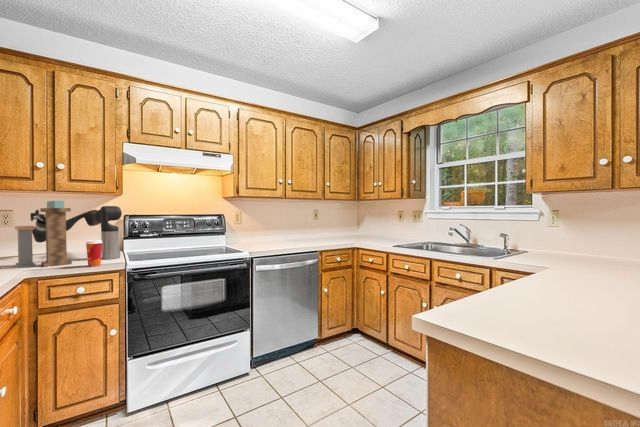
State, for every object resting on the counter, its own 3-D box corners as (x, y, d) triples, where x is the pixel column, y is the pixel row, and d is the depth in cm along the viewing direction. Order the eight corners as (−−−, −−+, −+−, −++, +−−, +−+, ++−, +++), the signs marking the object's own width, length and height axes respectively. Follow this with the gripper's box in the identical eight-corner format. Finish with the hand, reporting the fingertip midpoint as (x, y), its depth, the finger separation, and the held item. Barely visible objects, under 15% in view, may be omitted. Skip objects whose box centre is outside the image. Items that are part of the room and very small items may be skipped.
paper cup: (88, 265, 176) (87, 240, 176) (104, 264, 179) (104, 239, 178) (83, 267, 169) (83, 241, 168) (100, 266, 171) (100, 240, 171)
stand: (68, 262, 185) (67, 208, 184) (71, 264, 180) (70, 208, 179) (41, 265, 176) (40, 208, 175) (43, 267, 171) (42, 208, 170)
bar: (55, 208, 187) (55, 201, 187) (64, 208, 171) (64, 200, 171) (46, 208, 184) (46, 201, 184) (54, 208, 168) (54, 200, 168)
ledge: (32, 263, 182) (31, 225, 182) (35, 266, 174) (34, 226, 174) (15, 265, 177) (14, 226, 176) (18, 267, 169) (17, 227, 168)
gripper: (28, 218, 200) (31, 205, 191) (57, 217, 211) (61, 205, 202) (29, 228, 198) (32, 216, 189) (58, 227, 209) (62, 215, 199)
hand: (47, 210), depth 195 cm, fingers open, 8 cm apart
